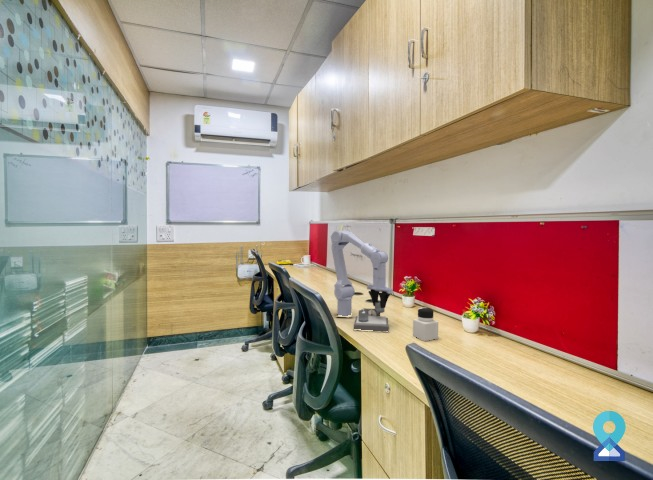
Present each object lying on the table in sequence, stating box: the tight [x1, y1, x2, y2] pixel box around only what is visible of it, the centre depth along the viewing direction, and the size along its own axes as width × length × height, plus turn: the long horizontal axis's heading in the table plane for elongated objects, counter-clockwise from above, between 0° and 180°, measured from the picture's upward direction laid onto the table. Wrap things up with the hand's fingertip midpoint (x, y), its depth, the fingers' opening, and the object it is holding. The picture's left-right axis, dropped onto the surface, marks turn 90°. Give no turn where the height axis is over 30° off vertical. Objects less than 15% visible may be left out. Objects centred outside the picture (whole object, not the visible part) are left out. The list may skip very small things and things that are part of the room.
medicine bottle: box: [412, 307, 439, 342], centre depth 128 cm, size 7×7×12 cm
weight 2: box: [374, 299, 385, 314], centre depth 146 cm, size 4×4×5 cm
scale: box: [353, 307, 390, 333], centre depth 144 cm, size 17×15×6 cm
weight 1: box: [358, 308, 368, 322], centre depth 141 cm, size 4×4×5 cm
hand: (379, 306), depth 146 cm, fingers closed on weight 2, 4 cm apart
